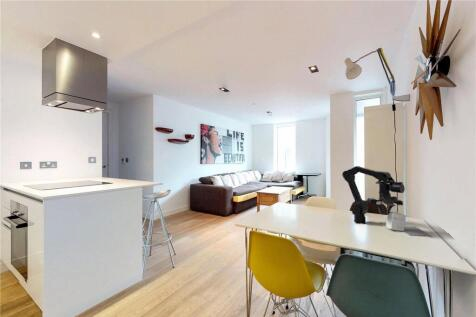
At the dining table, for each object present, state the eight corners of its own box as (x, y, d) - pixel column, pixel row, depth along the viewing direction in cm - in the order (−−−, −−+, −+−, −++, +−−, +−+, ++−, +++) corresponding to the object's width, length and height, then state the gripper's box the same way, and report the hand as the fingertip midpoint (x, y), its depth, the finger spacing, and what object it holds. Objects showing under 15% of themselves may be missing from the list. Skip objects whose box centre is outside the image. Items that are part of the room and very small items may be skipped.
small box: (398, 228, 136) (400, 213, 136) (404, 231, 130) (406, 215, 130) (385, 226, 137) (387, 211, 136) (390, 229, 131) (393, 213, 131)
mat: (410, 235, 123) (410, 234, 123) (396, 226, 141) (396, 225, 141) (432, 236, 120) (432, 236, 120) (415, 227, 138) (415, 226, 138)
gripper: (372, 192, 130) (372, 216, 130) (407, 193, 125) (407, 219, 125) (366, 189, 141) (367, 212, 141) (398, 190, 136) (399, 214, 136)
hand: (384, 214), depth 135 cm, fingers open, 3 cm apart
